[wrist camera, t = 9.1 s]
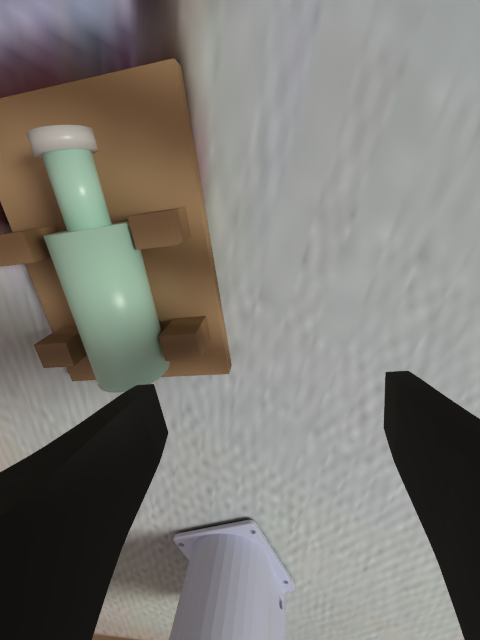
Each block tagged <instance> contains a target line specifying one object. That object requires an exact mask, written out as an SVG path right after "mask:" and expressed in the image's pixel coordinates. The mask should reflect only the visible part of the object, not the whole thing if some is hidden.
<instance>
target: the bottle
mask: <svg viewBox="0 0 480 640" xmlns="http://www.w3.org/2000/svg"><path fill="white" fill-rule="evenodd" d="M26 135H27V138H28V141H29V144H30V147H31V150H32V153H33V156H34V157H37V158H43V161H44V164H45V167H46V170H47V173H48V176H49V179H50V182H51V185H52V187H53V190H54V193H55V196H56V199H57V202H58V205H59V208H60V211H61V214H62V217H63V220H64V223H65V226H66V229H67V231H63V232H58V233H53V234H48V235H45V236H43V237H44V239H45V242H46V245H47V247H48V250H49V253H50V256H51V258H52V261H53V264H54V266H55V269H56V272H57V275H58V277H59V280H60V283H61V285H62V288H63V291H64V294H65V296H66V299H67V302H68V304H69V307H70V310H71V313H72V315H73V318H74V321H75V323H76V326H77V329H78V332H79V334H80V337H81V340H82V342H83V345H84V348H85V351H86V353H87V356H88V359H89V361H90V364H91V367H92V370H93V372H94V375H95V378H96V380H97V383H98V386H99V387H100V388H101V389H102V390H104V391H107V392H114V393H115V392H126V391H128V390H129V389H131V388H132V387H134V386H136V385H146V384H150V383H152V382H154V381H156V380H157V379H159V378H160V377H161V376H162V375H163V374H164V373H165V372H166V371H167V370H168V368H169V364H170V363H169V361H165V358H164V354H163V351H162V347H161V343H160V339H159V335H160V334H161V333H162V331H161V327H160V324H159V320H158V316H157V312H156V308H155V304H154V300H153V296H152V293H151V289H150V285H149V281H148V277H147V273H146V269H145V265H144V261H143V258H142V254H141V250H136V247H135V243H134V239H133V235H132V231H131V228H130V224H129V221H126V222H118V223H111V219H110V216H109V212H108V208H107V205H106V201H105V198H104V194H103V191H102V187H101V184H100V180H99V177H98V173H97V170H96V166H95V163H94V159H93V155H92V154H93V153H96V152H98V148H97V144H96V140H95V137H94V133H93V129H92V128H90V127H86V126H81V125H52V126H44V127H39V128H35V129H31V130H29V131H27V132H26Z"/></svg>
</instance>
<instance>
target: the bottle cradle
mask: <svg viewBox="0 0 480 640" xmlns="http://www.w3.org/2000/svg"><path fill="white" fill-rule="evenodd" d="M52 125H81V126H86V127H90V128H92V129H93V133H94V137H95V140H96V144H97V148H98V152H96V153H93V154H92V155H93V159H94V163H95V166H96V170H97V173H98V177H99V180H100V184H101V187H102V191H103V194H104V198H105V201H106V205H107V208H108V212H109V216H110V219H111V223H118V222H126V221H129V224H130V228H131V231H132V235H133V239H134V243H135V247H136V250H141V254H142V258H143V261H144V265H145V269H146V273H147V277H148V281H149V285H150V289H151V293H152V296H153V300H154V304H155V308H156V312H157V316H158V320H159V324H160V327H161V331H162V333H161V334H160V335H159V339H160V343H161V347H162V351H163V354H164V358H165V361H169V363H170V364H169V368H168V370H167V371H166V372H165V373H164V374H163V375H162V376H161V377H171V376H193V375H215V374H229V372H230V369H231V359H230V353H229V348H228V342H227V336H226V330H225V324H224V318H223V312H222V306H221V300H220V294H219V288H218V282H217V277H216V271H215V265H214V259H213V253H212V247H211V241H210V235H209V229H208V223H207V217H206V211H205V205H204V200H203V194H202V188H201V182H200V176H199V170H198V164H197V158H196V152H195V146H194V140H193V134H192V128H191V123H190V117H189V111H188V105H187V99H186V93H185V87H184V81H183V75H182V69H181V66H180V65H179V63H178V62H177V61H176V60H175V59H169V60H165V61H161V62H156V63H152V64H148V65H143V66H139V67H135V68H130V69H126V70H121V71H117V72H113V73H108V74H104V75H100V76H95V77H91V78H87V79H82V80H78V81H74V82H69V83H65V84H61V85H56V86H52V87H48V88H43V89H39V90H35V91H30V92H26V93H22V94H17V95H13V96H9V97H4V98H0V202H1V204H2V207H3V209H4V212H5V214H6V217H7V219H8V222H9V224H10V227H11V229H12V232H10V233H4V234H0V266H9V265H17V264H26V267H27V269H28V272H29V274H30V277H31V279H32V282H33V284H34V287H35V289H36V292H37V294H38V297H39V299H40V302H41V304H42V307H43V309H44V312H45V314H46V317H47V319H48V322H49V324H50V327H51V329H52V332H53V333H52V334H50V335H49V336H47V337H45V338H44V339H42V340H41V341H39V342H38V343H36V344H35V345H34V346H35V349H36V351H37V353H38V356H39V358H40V360H41V363H42V365H43V367H44V368H49V367H67V369H68V372H69V374H70V377H71V379H72V381H83V380H96V378H95V375H94V372H93V370H92V367H91V364H90V361H89V359H88V356H87V353H86V351H85V348H84V345H83V342H82V340H81V337H80V334H79V332H78V329H77V326H76V323H75V321H74V318H73V315H72V313H71V310H70V307H69V304H68V302H67V299H66V296H65V294H64V291H63V288H62V285H61V283H60V280H59V277H58V275H57V272H56V269H55V266H54V264H53V261H52V258H51V256H50V253H49V250H48V247H47V245H46V242H45V239H44V237H43V236H45V235H48V234H53V233H58V232H63V231H67V229H66V226H65V223H64V220H63V217H62V214H61V211H60V208H59V205H58V202H57V199H56V196H55V193H54V190H53V187H52V185H51V182H50V179H49V176H48V173H47V170H46V167H45V164H44V161H43V158H37V157H34V156H33V153H32V150H31V147H30V144H29V141H28V138H27V135H26V132H27V131H29V130H31V129H35V128H39V127H44V126H52Z"/></svg>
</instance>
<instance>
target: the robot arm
mask: <svg viewBox="0 0 480 640" xmlns="http://www.w3.org/2000/svg"><path fill="white" fill-rule="evenodd" d="M384 430H385V434H386V437H387V440H388V444H389V447H390V450H391V453H392V457H393V460H394V462H395V465H396V467H397V469H398V472H399V474H400V476H401V479H402V481H403V483H404V485H405V488H406V490H407V492H408V494H409V497H410V499H411V501H412V503H413V506H414V508H415V510H416V512H417V515H418V517H419V519H420V521H421V523H422V526H423V528H424V530H425V532H426V535H427V537H428V539H429V541H430V544H431V546H432V549H433V551H434V553H435V556H436V558H437V561H438V563H439V566H440V569H441V572H442V575H443V577H444V580H445V583H446V586H447V589H448V592H449V595H450V598H451V600H452V603H453V606H454V609H455V612H456V615H457V618H458V621H459V624H460V627H461V630H462V633H463V636H464V639H465V640H480V419H479V418H477V417H476V416H474V415H473V414H471V413H470V412H468V411H467V410H465V409H464V408H462V407H461V406H459V405H458V404H456V403H455V402H453V401H452V400H450V399H449V398H447V397H446V396H444V395H443V394H441V393H440V392H439V391H437V390H436V389H434V388H433V387H431V386H430V385H429V384H427V383H426V382H424V381H423V380H421V379H420V378H418V377H417V376H415V375H414V374H412V373H411V372H409V371H397V372H386V377H385V407H384ZM167 436H168V430H167V427H166V423H165V420H164V417H163V413H162V410H161V406H160V403H159V400H158V396H157V393H156V390H155V386H154V384H146V385H136V386H134V387H132V388H131V389H129V390H128V391H126V392H124V393H123V394H121V395H120V396H118V397H117V398H116V399H114V400H113V401H111V402H110V403H108V404H107V405H106V406H104V407H103V408H101V409H100V410H98V411H97V412H96V413H94V414H93V415H91V416H90V417H88V418H87V419H86V420H84V421H83V422H81V423H80V424H78V425H77V426H75V427H74V428H72V429H71V430H69V431H68V432H66V433H65V434H63V435H62V436H60V437H58V438H57V439H55V440H54V441H52V442H51V443H49V444H48V445H46V446H45V447H43V448H41V449H40V450H38V451H37V452H35V453H33V454H32V455H30V456H28V457H27V458H25V459H23V460H21V461H20V462H18V463H16V464H14V465H12V466H11V467H9V468H7V469H5V470H4V471H2V472H0V640H92V637H93V634H94V631H95V627H96V624H97V621H98V618H99V615H100V612H101V609H102V605H103V602H104V599H105V596H106V593H107V590H108V587H109V584H110V581H111V578H112V575H113V572H114V569H115V567H116V564H117V561H118V558H119V555H120V552H121V549H122V547H123V544H124V542H125V540H126V537H127V535H128V532H129V530H130V528H131V526H132V523H133V521H134V519H135V517H136V514H137V512H138V510H139V508H140V506H141V503H142V501H143V499H144V497H145V494H146V492H147V490H148V488H149V486H150V483H151V481H152V479H153V476H154V474H155V472H156V470H157V467H158V465H159V462H160V459H161V456H162V453H163V450H164V446H165V443H166V439H167ZM173 541H174V543H175V544H176V545H177V546H178V548H179V549H180V550H181V551H182V553H183V554H184V555H185V557H186V558H187V559H188V560H189V563H188V567H187V571H186V575H185V578H184V582H183V586H182V590H181V594H180V598H179V602H178V606H177V610H176V614H175V618H174V622H173V626H172V630H171V634H170V638H169V640H286V612H285V592H292V591H294V590H295V583H294V582H293V580H292V579H291V577H290V576H289V574H288V573H287V571H286V569H285V568H284V566H283V565H282V563H281V562H280V560H279V558H278V557H277V555H276V554H275V552H274V551H273V549H272V548H271V546H270V544H269V543H268V541H267V540H266V538H265V537H264V535H263V534H262V532H261V530H260V529H259V527H258V526H257V524H256V523H255V522H254V521H253V520H245V521H240V522H234V523H229V524H224V525H219V526H214V527H209V528H204V529H198V530H193V531H188V532H183V533H178V534H175V535H174V538H173Z"/></svg>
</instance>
